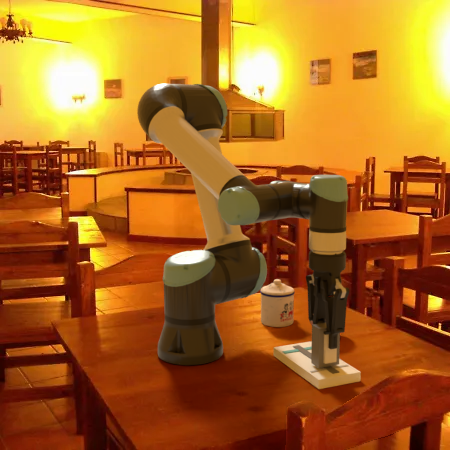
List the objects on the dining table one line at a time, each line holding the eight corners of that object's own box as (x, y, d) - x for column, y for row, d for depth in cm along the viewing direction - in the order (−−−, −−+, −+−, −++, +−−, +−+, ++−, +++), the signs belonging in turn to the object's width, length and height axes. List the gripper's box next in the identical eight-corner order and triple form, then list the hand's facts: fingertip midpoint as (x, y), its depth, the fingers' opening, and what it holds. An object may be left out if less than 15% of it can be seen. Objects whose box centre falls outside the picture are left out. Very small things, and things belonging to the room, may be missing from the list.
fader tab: (318, 368, 134) (319, 328, 132) (311, 362, 137) (311, 324, 135) (339, 364, 136) (340, 325, 134) (331, 359, 138) (332, 321, 137)
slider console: (318, 389, 129) (318, 378, 129) (273, 355, 148) (273, 346, 147) (360, 381, 133) (360, 371, 133) (311, 349, 151) (311, 340, 151)
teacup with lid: (285, 330, 165) (286, 286, 163) (254, 324, 170) (254, 281, 168) (303, 317, 175) (304, 275, 174) (273, 312, 180) (273, 272, 178)
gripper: (365, 256, 126) (362, 370, 130) (322, 242, 141) (320, 344, 145) (332, 260, 123) (330, 375, 127) (292, 244, 138) (291, 349, 142)
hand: (325, 358), depth 136 cm, fingers closed on fader tab, 3 cm apart
